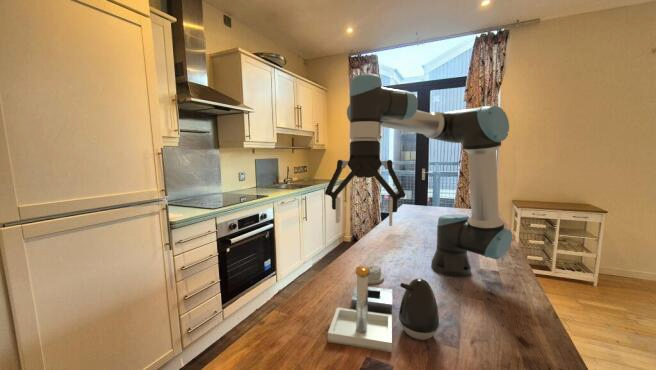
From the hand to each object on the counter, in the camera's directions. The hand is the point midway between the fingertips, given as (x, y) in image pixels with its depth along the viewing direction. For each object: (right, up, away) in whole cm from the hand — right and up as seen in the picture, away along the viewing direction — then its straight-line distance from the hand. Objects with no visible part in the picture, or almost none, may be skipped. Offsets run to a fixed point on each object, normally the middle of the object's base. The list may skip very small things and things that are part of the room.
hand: (363, 223), depth 71 cm
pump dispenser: (+15, -30, +3) cm, 34 cm away
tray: (0, -30, +3) cm, 30 cm away
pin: (0, -29, +3) cm, 30 cm away
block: (+5, -29, +15) cm, 33 cm away
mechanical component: (+7, -27, +36) cm, 45 cm away
